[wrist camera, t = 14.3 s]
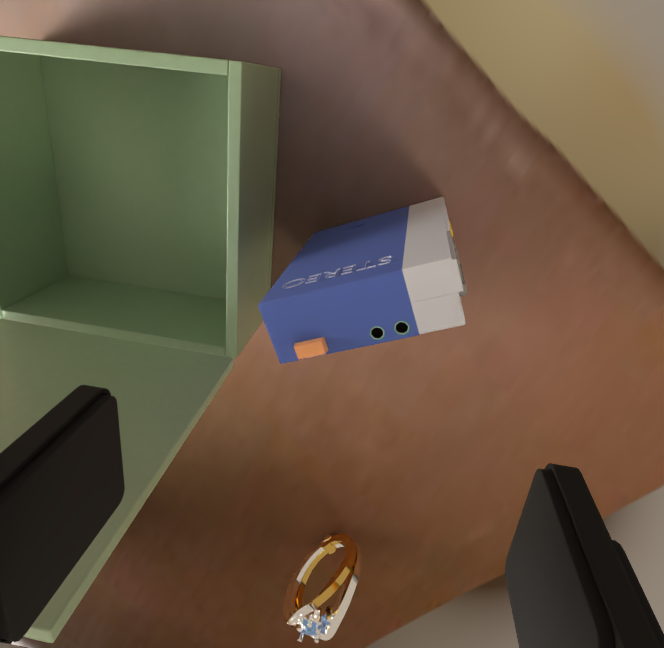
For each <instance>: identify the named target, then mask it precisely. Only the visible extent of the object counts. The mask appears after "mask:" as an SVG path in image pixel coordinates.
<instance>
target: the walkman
mask: <svg viewBox="0 0 664 648" xmlns="http://www.w3.org/2000/svg"><path fill="white" fill-rule="evenodd" d="M462 295H467V290H466V285H465V281H464V276H463V272H462V267H461V264H460V263H459V258H458V254H457V249H456V245H455V240H454V237H453V232H452V228H451V223H450V221H449V218H448V214H447V209H446V205H445V200H444V196H443V197H439V198H436V199H432V200H429V201H425V202H421V203H418V204H414V205H410V206H407V207H404V208H400V209H396V210H393V211H389V212H386V213H382V214H379V215H375V216H371V217H368V218H364V219H361V220H357V221H353V222H350V223H346V224H343V225H339V226H335V227H332V228H328V229H325V230H321V231H317V232H314V234H313V235H312V236H311V237H310V239H309V240H308V241H307V243H306V244H305V245H304V246H303V248H302V249H301V250H300V252H299V253H298V254H297V255H296V257H295V258H294V259H293V260H292V262H291V263H290V264H289V266H288V267H287V268H286V269H285V271H284V272H283V273H282V275H281V276H280V277H279V278H278V280H277V281H276V282H275V284H274V285H273V286H272V287H271V289H270V290H269V291H268V293H267V294H266V295H265V296H264V298H263V299H262V300H261V302H260V303H259V304H258V307H259V310H260V312H261V315H262V318H263V320H264V323H265V325H266V328H267V331H268V333H269V336H270V338H271V341H272V343H273V346H274V349H275V351H276V354H277V356H278V359H279V362H280V363H281V364H282V363H287V362H292V361H297V360H302V359H306V358H311V357H316V356H321V355H326V354H330V353H335V352H340V351H345V350H350V349H354V348H359V347H364V346H369V345H374V344H379V343H383V342H388V341H393V340H398V339H403V338H407V337H412V336H417V335H420V334H423V333H428V332H433V331H437V330H442V329H447V328H452V327H457V326H461V325H465V318H464V313H463V307H462V302H461V297H460V296H462Z"/></svg>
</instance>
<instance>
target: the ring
mask: <svg viewBox="0 0 664 648" xmlns="http://www.w3.org/2000/svg"><path fill="white" fill-rule="evenodd" d="M339 547H346V553H345V557H344V559H343V561H342V563H341V565H340V567H339V568H338V570H337V571H336V573H335V574H334V576H333V577H332V578H331V580H330V581H329V582H328V583H327V585H326V586H325V587H324V588H323V590H322V591H321V592H320V593H319V594H318V596H317V597H316V598H315V599H314V600H312V601H311V602H310V603H309V604H306V605H303V606H302V598H303V592H304V588H305V584H306V582H307V579H308V577H309V575H310V573H311V571H312V570H313V568H314V567H315V565H316V564H317V563H318V562H319V561H320V560H321V559H322V558H323V557H324V556H325V555H326V554H327V553H328V554H332V553H334V552H335V551H336V549H337V548H339ZM361 563H362V557H361V551H360V548H359V546H358V545H357V544H356V543H355V542H354V540H353V539H352V538H351V537H350V536H349V535H347V534H336V535H333V536H331V535H328V536H326V537H325V538H324V539H323V541H322V542H321V543H319V544H318V545H317V546H316V547H315V548H314V549H313V550H312V551H311V552H310V553H309V554H308V555H307V556H306V558H305V559H304V560H303V562H302V563H301V564H300V566H299V567H298V569H297V571H296V572H295V574H294V576H293V578H292V580H291V582H290V585H289V587H288V590H287V593H286V596H285V601H284V609H283V618H284V621H285V622H286V623H288V624H289V625H290V626H292V627H293V626H295V625H297V630H298V631H299V635H298V638H297V640H298V641H300V642H302V639H303V635H304V634H306V635H310V636H311V637H312V638H314V641H315V642H316V643H318V642H319V639H320V640H324V641H326V640H329V639H331V638H332V637H333V635H334V634H335V632H336V631H337V629H338V627H339V625H340V623H341V621H342V619H343V617H344V615H345V613H346V611H347V609H348V606H349V604H350V602H351V599H352V596H353V594H354V591H355V588H356V585H357V581H358V578H359V574H360V570H361ZM345 579H346V580H345ZM344 580H345V583H344V586H343V588H342V591H341V594H340V596H339V598H338V601H337V603H336V605H335V607H334V610H333V612H332V607H331V606H329V607H327V608H326V609H325V610H324V611H323V609H322V608H320V605H321V604H322V603H324V602H325V601H326V600H327V599H328V598H329V597H330V596H331V595H332V594H333V593H334V592H335V591H336V590H337V589H338V588H339V587H340V585H341V584H342V583H343V582H344ZM308 614H309V615H308Z"/></svg>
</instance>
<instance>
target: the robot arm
mask: <svg viewBox="0 0 664 648" xmlns="http://www.w3.org/2000/svg"><path fill="white" fill-rule="evenodd" d="M124 490H125V485H124V474H123V462H122V451H121V440H120V429H119V418H118V406H117V399H116V398H115V397H114V396H111V393H110V391H109V390H108V389H106V388H101V387H95V386H89V385H80V386H78V387H77V388H76V389H75V390H73V391H72V392H71V393H70V394H69V395H68V396H66V397H65V398H64V399H63V400H62V401H61V402H59V403H58V404H57V405H56V406H55V407H54V408H52V409H51V410H50V411H49V412H48V413H47V414H45V415H44V416H43V417H42V418H41V419H40V420H38V421H37V422H36V423H35V424H34V425H33V426H31V427H30V428H29V429H28V430H27V431H26V432H24V433H23V434H22V435H21V436H20V437H19V438H17V439H16V440H15V441H14V442H13V443H11V444H10V445H9V446H8V447H7V448H6V449H4V450H3V451H2V452H1V453H0V648H27V647H22V646H17V645H12V644H11V643H12V641H14V642H16V641H19V640H20V639H21V638H23V636H24V635H25V634H26V633H27V631H28V630H29V629H30V627H31V626H32V624H33V623H34V622H35V620H36V619H37V618H38V616H39V615H40V613H41V612H42V611H43V609H44V608H45V607H46V605H47V604H48V602H49V601H50V600H51V598H52V597H53V595H54V594H55V593H56V591H57V590H58V589H59V587H60V586H61V584H62V583H63V582H64V580H65V579H66V578H67V576H68V575H69V573H70V572H71V571H72V569H73V568H74V567H75V565H76V564H77V562H78V561H79V560H80V558H81V557H82V555H83V554H84V553H85V551H86V550H87V549H88V547H89V546H90V544H91V543H92V542H93V540H94V539H95V538H96V536H97V535H98V533H99V532H100V531H101V529H102V528H103V526H104V525H105V524H106V522H107V521H108V520H109V518H110V517H111V515H112V514H113V513H114V511H115V510H116V509H117V507H118V506H119V504H120V503H121V501H122V498H123V495H124ZM505 577H506V582H507V587H508V592H509V597H510V603H511V607H512V613H513V618H514V622H515V628H516V633H517V638H518V643H519V648H664V634H663V632H662V630H661V627H660V625H659V623H658V621H657V619H656V617H655V615H654V613H653V611H652V609H651V606H650V604H649V602H648V600H647V598H646V596H645V594H644V592H643V589H642V587H641V585H640V583H639V581H638V579H637V577H636V575H635V573H634V571H633V568H632V566H631V564H630V562H629V560H628V558H627V556H626V553H625V551H624V550H623V548H622V547H621V545H620V544H619V543H618V542H616V541H614V540H611V537H610V535H609V533H608V531H607V529H606V527H605V524H604V522H603V520H602V518H601V515H600V513H599V511H598V509H597V507H596V504H595V502H594V500H593V498H592V496H591V494H590V491H589V489H588V487H587V485H586V483H585V480H584V478H583V476H582V474H581V472H580V470H579V469H577V468H574V467H568V466H562V465H556V464H551V463H550V464H548V465H547V466H546V467H545V469H537V471H536V473H535V475H534V478H533V481H532V484H531V487H530V490H529V493H528V496H527V499H526V502H525V505H524V508H523V511H522V514H521V517H520V520H519V523H518V526H517V529H516V532H515V535H514V538H513V540H512V543H511V546H510V549H509V552H508V555H507V559H506V564H505Z"/></svg>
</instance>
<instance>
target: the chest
mask: <svg viewBox="0 0 664 648" xmlns="http://www.w3.org/2000/svg"><path fill="white" fill-rule="evenodd" d="M280 87H281V69H280V68H276V67H271V66H265V65H260V64H254V63H249V62H243V61H235V60H226V59H216V58H207V57H197V56H188V55H178V54H169V53H159V52H150V51H140V50H131V49H121V48H112V47H102V46H93V45H83V44H74V43H64V42H55V41H45V40H36V39H26V38H17V37H7V36H0V318H1V319H7V320H12V321H18V322H24V323H30V324H36V325H42V326H48V327H54V328H60V329H66V330H72V331H78V332H84V333H90V334H95V335H101V336H107V337H113V338H119V339H125V340H131V341H137V342H143V343H149V344H155V345H161V346H167V347H173V348H178V349H184V350H190V351H196V352H202V353H208V354H214V355H220V356H226V357H232V358H237V357H238V355H239V354H240V352H241V351H242V349H243V348H244V347H245V345H246V344H247V342H248V341H249V340H250V338H251V337H252V335H253V334H254V332H255V331H256V330H257V328H258V327H259V325H260V324H261V323H262V321H263V318H262V315H261V312H260V310H259V307H258V304H259V303H260V302H261V300H262V299H263V298H264V296H265V295H266V294H267V293H268V291H269V290H270V289H271V269H272V249H273V228H274V208H275V188H276V168H277V148H278V127H279V107H280Z"/></svg>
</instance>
